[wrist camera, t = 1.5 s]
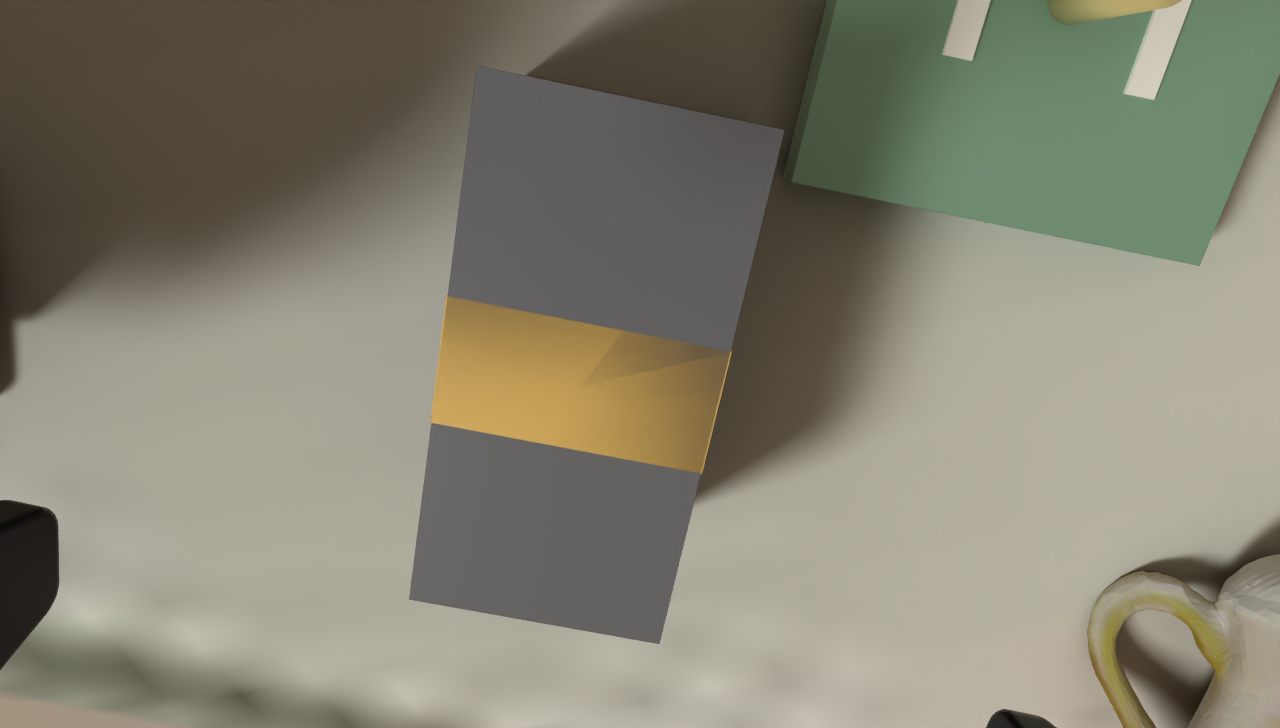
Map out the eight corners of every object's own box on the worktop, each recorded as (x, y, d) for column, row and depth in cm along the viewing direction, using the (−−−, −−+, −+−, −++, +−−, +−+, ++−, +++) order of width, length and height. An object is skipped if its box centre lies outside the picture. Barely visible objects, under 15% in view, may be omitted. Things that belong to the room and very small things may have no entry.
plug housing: (465, 484, 21) (408, 599, 16) (524, 75, 18) (475, 65, 13) (659, 520, 21) (660, 644, 16) (750, 122, 18) (785, 130, 13)
